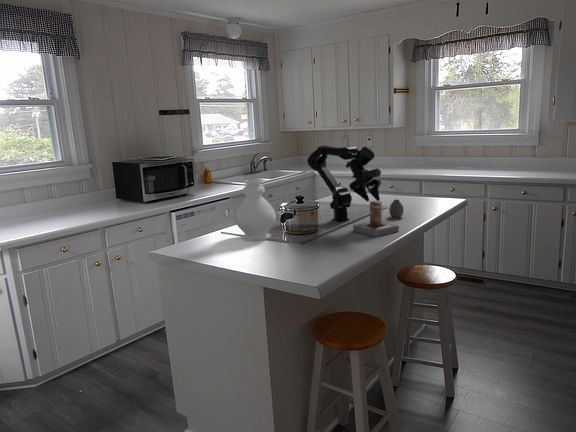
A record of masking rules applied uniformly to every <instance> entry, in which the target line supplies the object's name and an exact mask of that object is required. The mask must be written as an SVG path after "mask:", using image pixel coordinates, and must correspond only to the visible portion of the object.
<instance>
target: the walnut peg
mask: <svg viewBox="0 0 576 432" xmlns="http://www.w3.org/2000/svg"><path fill="white" fill-rule="evenodd" d="M382 202H383V201H380V200H379V201H377V200H372V201H369V222H370V227H373V228H378V227H381V222H383V220H382V210H383V209H382V206H383V204H382Z"/></svg>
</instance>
